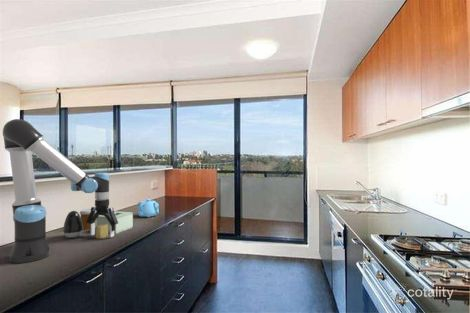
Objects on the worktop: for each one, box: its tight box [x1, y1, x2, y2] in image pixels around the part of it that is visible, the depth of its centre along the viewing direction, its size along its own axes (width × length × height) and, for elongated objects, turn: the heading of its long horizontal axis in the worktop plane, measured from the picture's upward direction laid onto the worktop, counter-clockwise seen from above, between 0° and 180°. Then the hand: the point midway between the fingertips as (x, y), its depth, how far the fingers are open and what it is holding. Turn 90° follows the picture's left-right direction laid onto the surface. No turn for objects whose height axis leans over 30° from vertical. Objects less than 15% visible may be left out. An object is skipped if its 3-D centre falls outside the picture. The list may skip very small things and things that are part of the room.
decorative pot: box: [136, 198, 160, 218], centre depth 218 cm, size 16×16×14 cm
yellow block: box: [95, 224, 109, 240], centre depth 160 cm, size 6×3×7 cm, turn 164°
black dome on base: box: [62, 210, 84, 239], centre depth 161 cm, size 10×10×15 cm
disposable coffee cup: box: [79, 208, 96, 231], centre depth 180 cm, size 10×10×12 cm
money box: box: [96, 210, 134, 235], centre depth 177 cm, size 16×14×10 cm
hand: (102, 235), depth 160 cm, fingers open, 13 cm apart
